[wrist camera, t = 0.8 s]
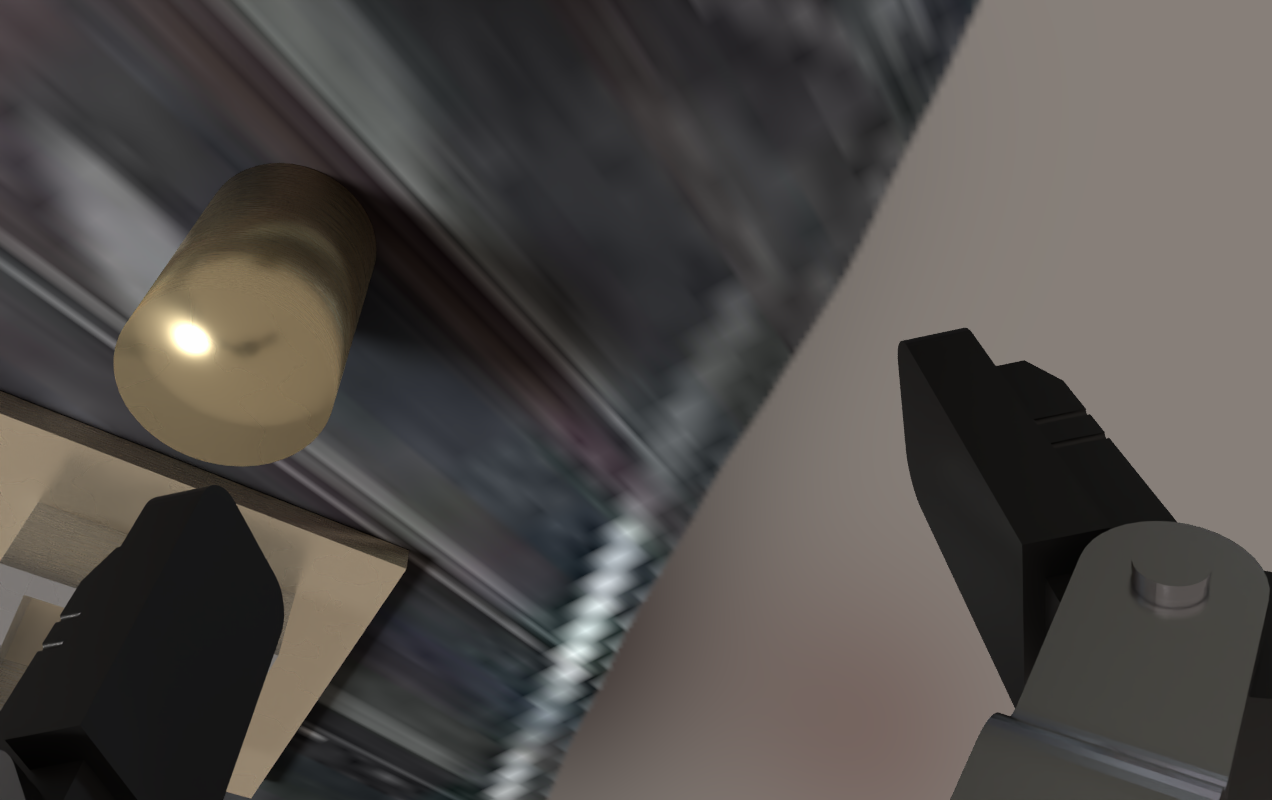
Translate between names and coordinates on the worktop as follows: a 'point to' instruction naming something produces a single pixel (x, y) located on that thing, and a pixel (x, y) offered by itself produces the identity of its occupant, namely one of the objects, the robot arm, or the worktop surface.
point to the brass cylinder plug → (251, 319)
